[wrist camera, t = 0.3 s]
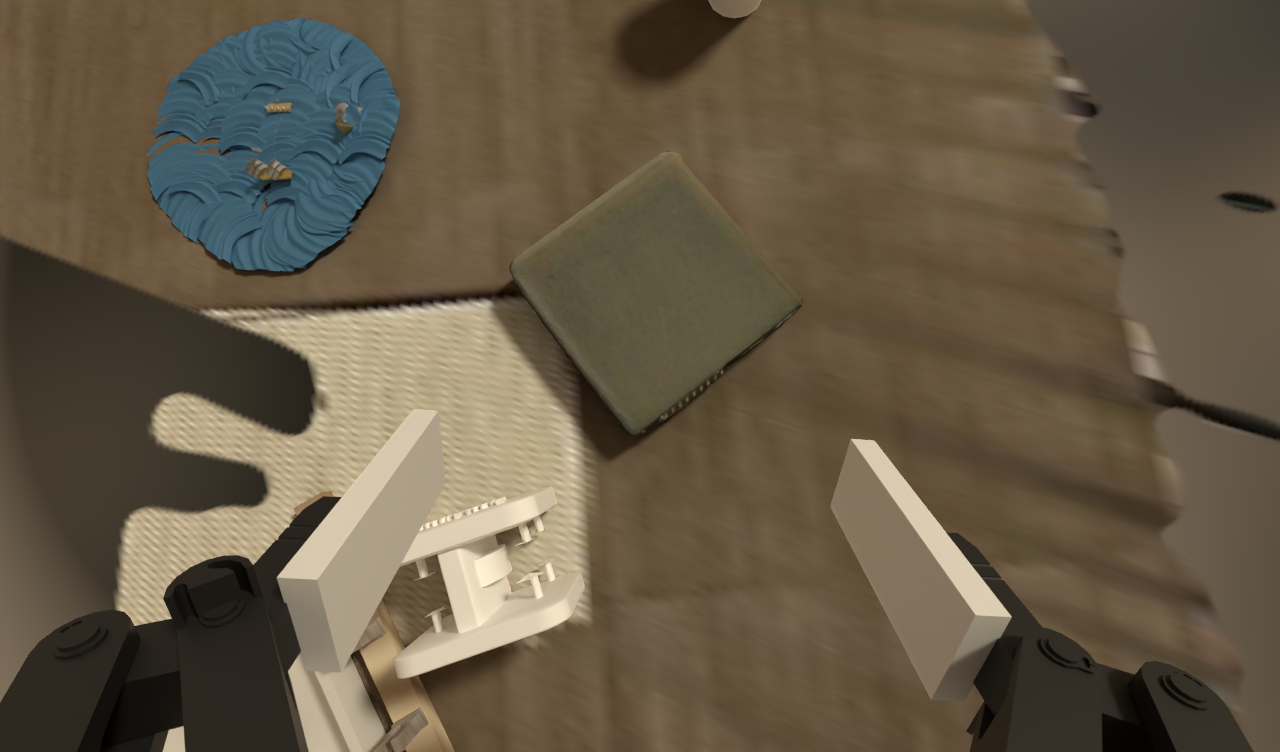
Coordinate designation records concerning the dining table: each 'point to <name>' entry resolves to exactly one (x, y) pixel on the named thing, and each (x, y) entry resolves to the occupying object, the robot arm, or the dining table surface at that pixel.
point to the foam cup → (734, 7)
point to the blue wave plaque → (274, 142)
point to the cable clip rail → (397, 685)
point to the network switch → (653, 292)
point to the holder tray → (325, 712)
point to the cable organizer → (485, 584)
